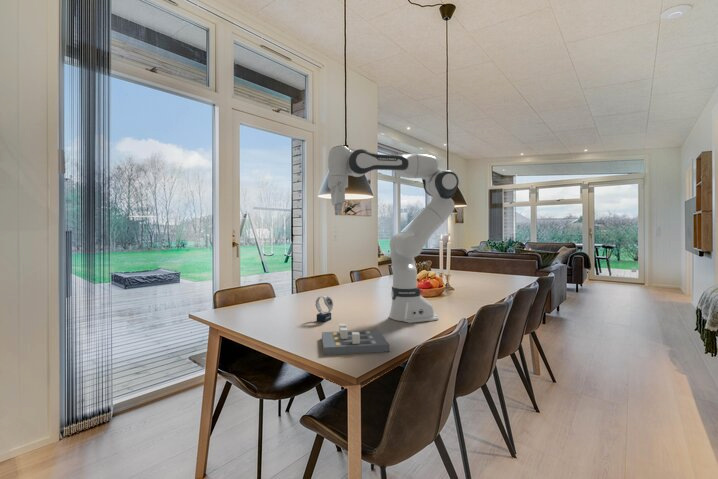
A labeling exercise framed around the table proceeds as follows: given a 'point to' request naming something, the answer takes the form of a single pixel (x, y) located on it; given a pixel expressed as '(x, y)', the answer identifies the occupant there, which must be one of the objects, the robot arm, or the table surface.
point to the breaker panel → (368, 344)
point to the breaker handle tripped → (355, 338)
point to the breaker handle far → (341, 326)
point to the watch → (322, 315)
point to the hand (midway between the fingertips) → (338, 214)
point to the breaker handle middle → (343, 333)
